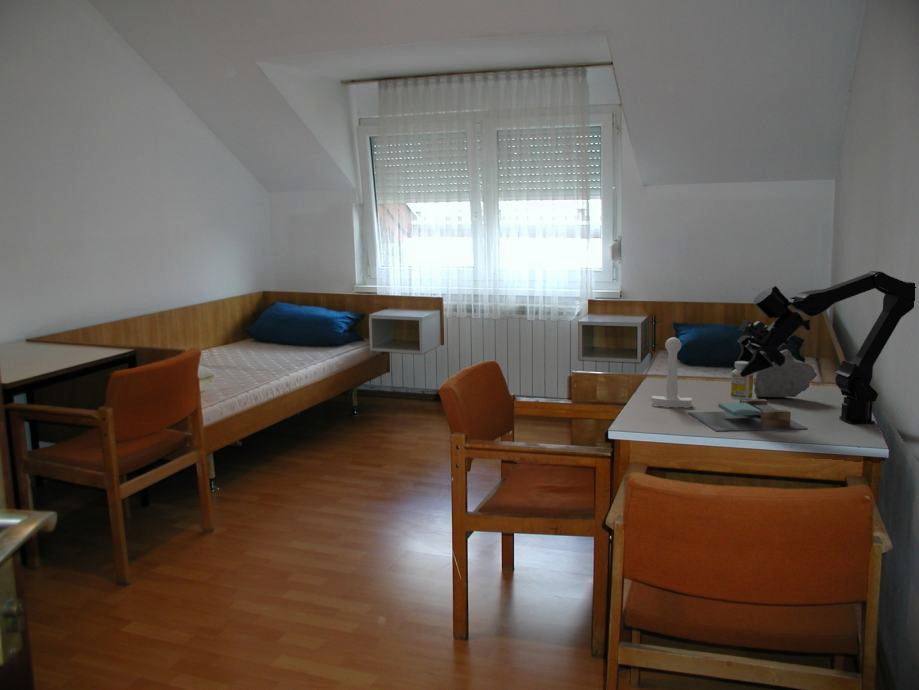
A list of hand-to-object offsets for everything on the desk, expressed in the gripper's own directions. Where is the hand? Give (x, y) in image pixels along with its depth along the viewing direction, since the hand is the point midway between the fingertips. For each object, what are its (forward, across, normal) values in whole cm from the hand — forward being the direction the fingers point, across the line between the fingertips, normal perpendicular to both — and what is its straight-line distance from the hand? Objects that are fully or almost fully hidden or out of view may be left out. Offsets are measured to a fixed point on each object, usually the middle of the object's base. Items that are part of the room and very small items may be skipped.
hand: (737, 373), depth 210 cm
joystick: (+17, -22, +2) cm, 28 cm away
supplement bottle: (+4, 0, +6) cm, 7 cm away
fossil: (-8, -29, +28) cm, 41 cm away
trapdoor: (+5, -2, +12) cm, 13 cm away
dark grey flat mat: (+7, -2, +12) cm, 14 cm away
